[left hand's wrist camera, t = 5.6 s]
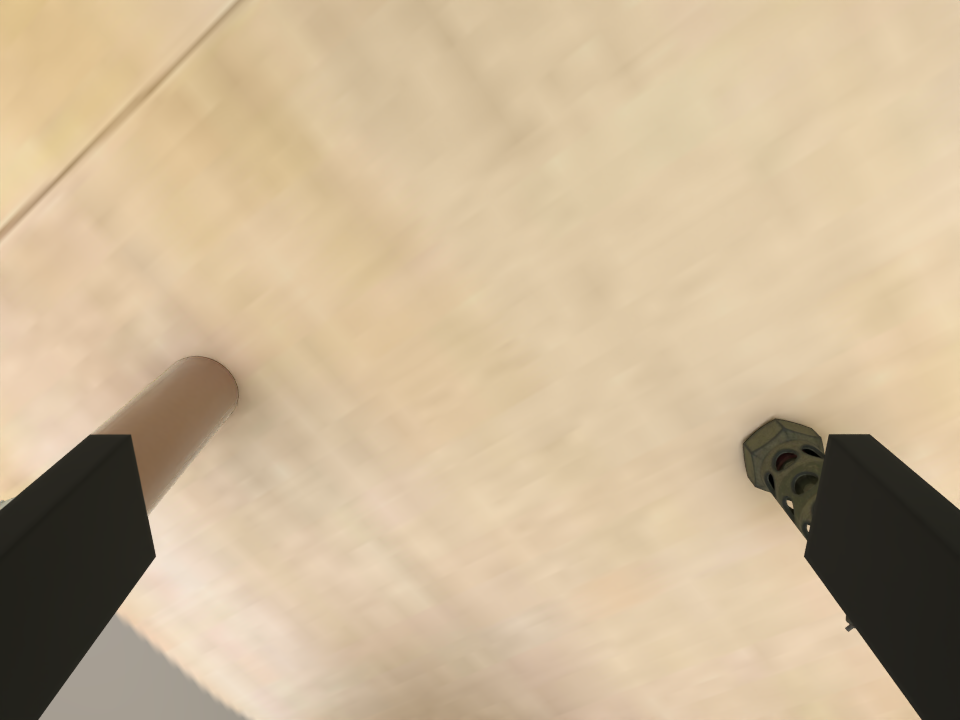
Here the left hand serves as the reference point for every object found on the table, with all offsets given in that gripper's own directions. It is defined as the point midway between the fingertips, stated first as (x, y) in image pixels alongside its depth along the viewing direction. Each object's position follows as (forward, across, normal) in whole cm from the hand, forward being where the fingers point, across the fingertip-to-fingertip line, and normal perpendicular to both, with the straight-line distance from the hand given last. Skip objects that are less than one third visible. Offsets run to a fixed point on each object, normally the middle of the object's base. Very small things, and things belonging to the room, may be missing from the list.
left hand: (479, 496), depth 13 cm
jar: (+28, -18, -10) cm, 34 cm away
